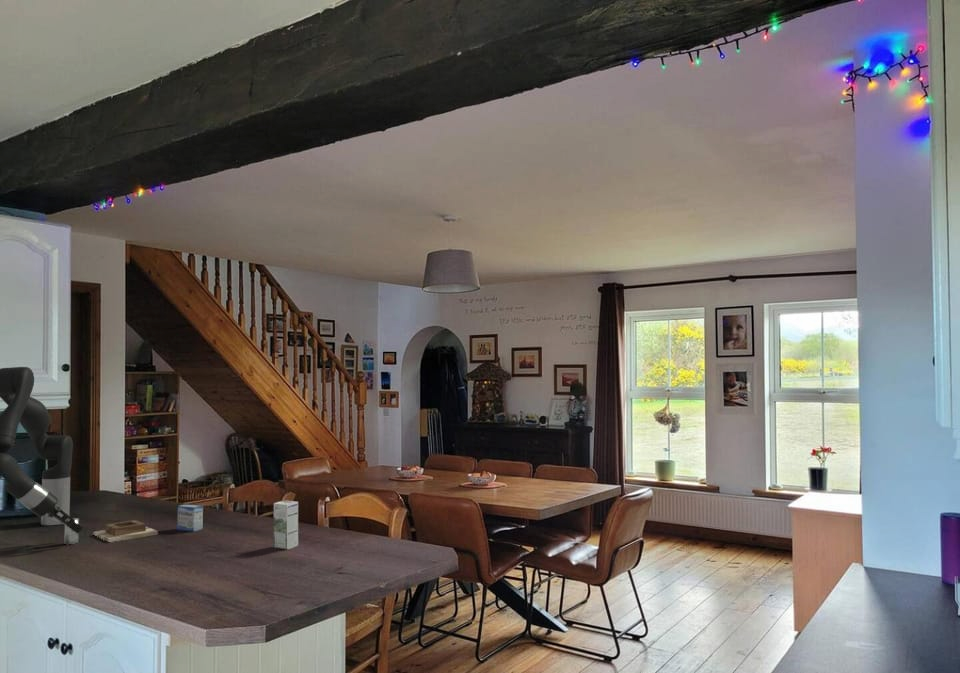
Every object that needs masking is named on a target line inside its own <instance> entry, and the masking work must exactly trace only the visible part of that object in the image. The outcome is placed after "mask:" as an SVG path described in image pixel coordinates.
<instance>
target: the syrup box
mask: <svg viewBox="0 0 960 673" xmlns="http://www.w3.org/2000/svg"><path fill="white" fill-rule="evenodd" d="M296 547H299V501H293V500H280V501H276V502H274V503H273V548H274V549H280V550H291V549H294V548H296Z"/></svg>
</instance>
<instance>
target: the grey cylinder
mask: <svg viewBox="0 0 960 673" xmlns="http://www.w3.org/2000/svg"><path fill="white" fill-rule="evenodd" d="M71 518H72V517H71ZM72 519H74V520H75V521H74V522H76V523H77V524H78V525H79V524H80V518H78V517H77V518H72ZM69 521H70V519H67V520H66V521H65V522H66V523H68V522H69ZM63 543H64V544H66V545H65V546H70V545H69V544H75V543H78V544H79V533H76V532H75V531H73V530H72V529H71V528H69V527H67V526H66V525H65V526H64V542H63ZM75 545H76V544H75Z"/></svg>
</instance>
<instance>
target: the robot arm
mask: <svg viewBox="0 0 960 673" xmlns="http://www.w3.org/2000/svg"><path fill="white" fill-rule="evenodd" d="M34 385H35V375H34V372H33V370H32V369H31V368H30V367H28V366H16V367H15V366H13V367H3V368H2V367H1V368H0V399H1V400H2V401H3V402H4V403H5V404H6V405H7V406H6V407H5V409H4V410H3V411H2V412H1V413H0V478H1V477H2V478H3V479H4V480H5V484H4V490H5V491H6V492H7V493H9V494H10V495H11V496H12V497H13V498H15V499H17V501H19V503H20V504H21V505H23V506H24V507H26V509H27V510H30V512H32V513H33V514H34V515H36V516H37V517H39V518H40V525H42V526H57V525H62V526H64V527H65V525H66V526H67V527H69V528H71V529H72V530H73V531H75V532H76V533H78V534H79V533H81V531H82V530H83V527H82V526H81V525H78V524H77V523H76V522H74V521H75V520H74V519H72V516H70V507H71V506H70V505H71V504H70V503H71V470H72V465H73V464H72V461H73V449H74V442H73V438H72V437H71V436H70V435H65V434H62V435H60V434H59V435H49V434H48V433H47V432H46V431H47V430H48V428H49V427H50V425H51V421H52V417H51V414H50V413H49V412H50V411H48V408H46V406H45V405H44V403H42V402H41V401H40V400H39V399H36V398H34V397H32V396H31V395H32V391H33V389H34ZM19 423H20V424H19ZM19 425H21V426H22V428H23V429H24V430H25V432H26V434H27V435H28V437H29V438H30V439H31V443H32V444H33V447H34V448H35V451H36V453H37V454H38V456H39V458H40V459H42V460H46V461H47V460H48V461H55V460H57V464H56V465H55V466H52V467H51V468H46V469H45V470H43V471H42V475H41V476H42V477H41V484H40V483H38V482H37V481H35V480H34V479H33V478H31V477H30V476H29V475H28V474H26V472H25V471H24V469H23V468H22V467H21V466H20V464H19V463H18V461H17V460H16V459H15V458H14V457H13V456H11V454H8V453H10V451H11V450H12V449H13V448H14V446H15V441H16V437H17V434H18V429H19V428H18V427H19ZM67 519H70V521H69V522H68V523H66V522H65V521H66V520H67Z"/></svg>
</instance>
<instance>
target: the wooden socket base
mask: <svg viewBox="0 0 960 673" xmlns="http://www.w3.org/2000/svg"><path fill="white" fill-rule="evenodd" d="M158 534H159V532H158V530H156V529H154V528H151V527H148V526H147V524H146V523H144V522H142V521H139V520H136V519H133V520H124V521H119V522H114V523H107V524H104V530H103V529H101V530H97V531H92V536H93V535H95V536H97V537H96V538H98V537H99V538H98V539H100V538H101V539H100V540H102V539H103V540H102V541H104V540H105V541H104V542H106V541H107V542H106V543H108V542H110V543H115V541H116V542H121V540H122V541H126V540H133V539H139V538H145V537H151V536H157V535H158ZM95 536H94V537H95Z"/></svg>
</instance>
